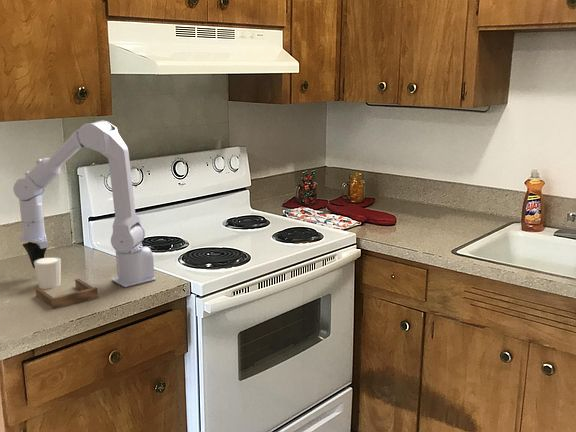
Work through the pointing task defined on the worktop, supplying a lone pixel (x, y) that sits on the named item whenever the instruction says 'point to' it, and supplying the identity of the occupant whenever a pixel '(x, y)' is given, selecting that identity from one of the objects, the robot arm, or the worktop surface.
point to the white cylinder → (48, 272)
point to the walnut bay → (69, 295)
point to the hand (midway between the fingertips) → (37, 267)
